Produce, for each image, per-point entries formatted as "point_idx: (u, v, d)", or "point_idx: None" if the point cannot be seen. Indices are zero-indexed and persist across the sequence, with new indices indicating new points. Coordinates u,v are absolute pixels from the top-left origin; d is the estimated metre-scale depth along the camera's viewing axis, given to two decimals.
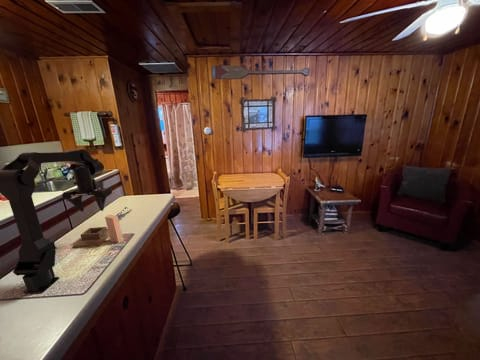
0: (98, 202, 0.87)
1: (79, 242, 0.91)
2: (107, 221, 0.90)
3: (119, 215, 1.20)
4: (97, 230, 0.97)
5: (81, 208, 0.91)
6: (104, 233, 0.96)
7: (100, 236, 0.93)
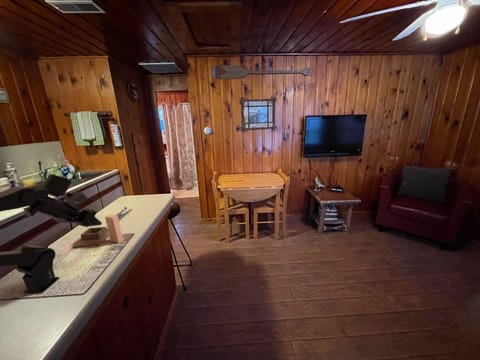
0: None
1: (79, 242, 0.91)
2: (107, 221, 0.90)
3: (119, 215, 1.20)
4: (97, 230, 0.97)
5: None
6: (104, 233, 0.96)
7: (100, 236, 0.93)
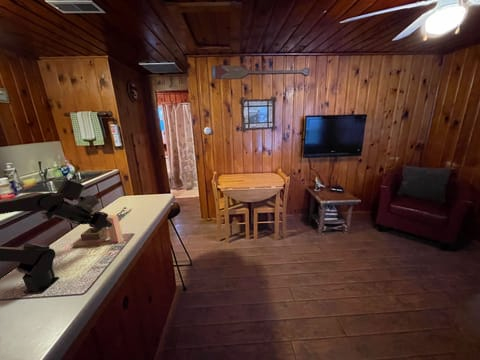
0: None
1: (79, 242, 0.91)
2: None
3: (119, 215, 1.20)
4: (97, 230, 0.97)
5: None
6: (104, 233, 0.96)
7: (100, 236, 0.93)
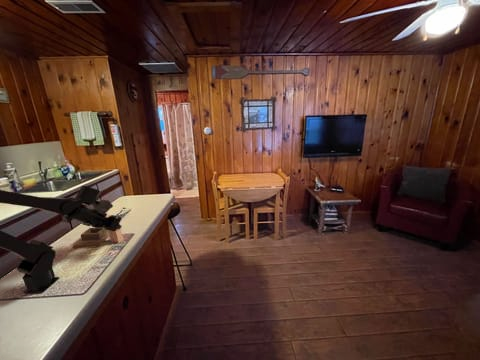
0: None
1: (79, 242, 0.91)
2: None
3: (119, 215, 1.20)
4: (97, 230, 0.97)
5: None
6: (104, 233, 0.96)
7: (100, 236, 0.93)
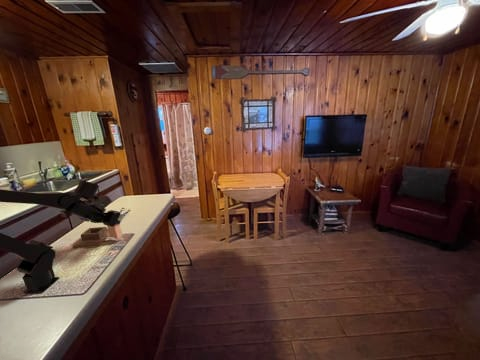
0: None
1: (79, 242, 0.91)
2: None
3: None
4: (97, 230, 0.97)
5: None
6: (104, 233, 0.96)
7: (100, 236, 0.93)
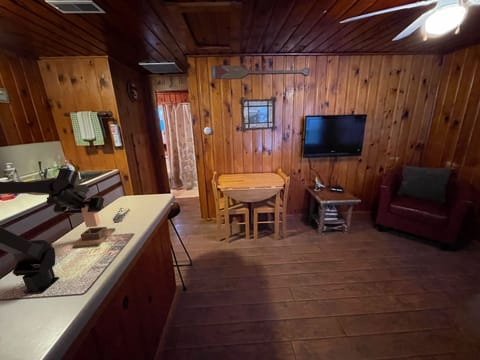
0: None
1: (79, 242, 0.91)
2: None
3: (119, 215, 1.19)
4: (97, 230, 0.97)
5: None
6: (104, 233, 0.96)
7: (100, 236, 0.93)
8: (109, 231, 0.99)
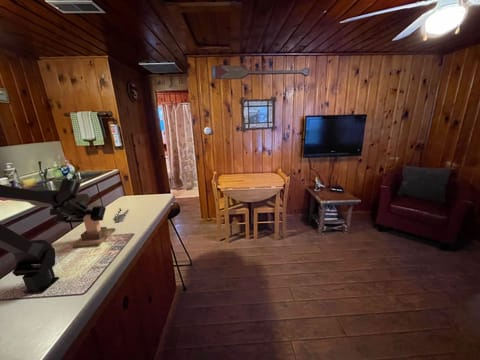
0: None
1: (79, 242, 0.91)
2: (85, 217, 0.92)
3: (119, 216, 1.19)
4: None
5: (81, 220, 0.93)
6: (104, 233, 0.96)
7: (100, 236, 0.93)
8: (109, 231, 0.99)
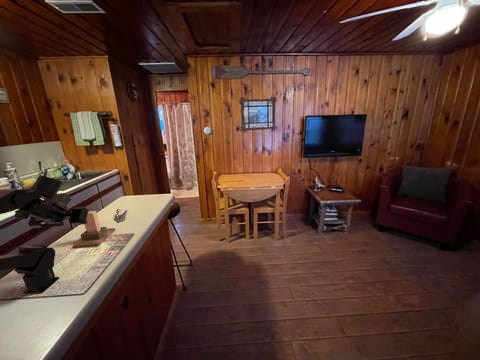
0: None
1: (79, 242, 0.91)
2: None
3: (118, 216, 1.19)
4: None
5: (60, 224, 0.80)
6: (104, 233, 0.96)
7: (100, 236, 0.93)
8: (109, 231, 0.99)
